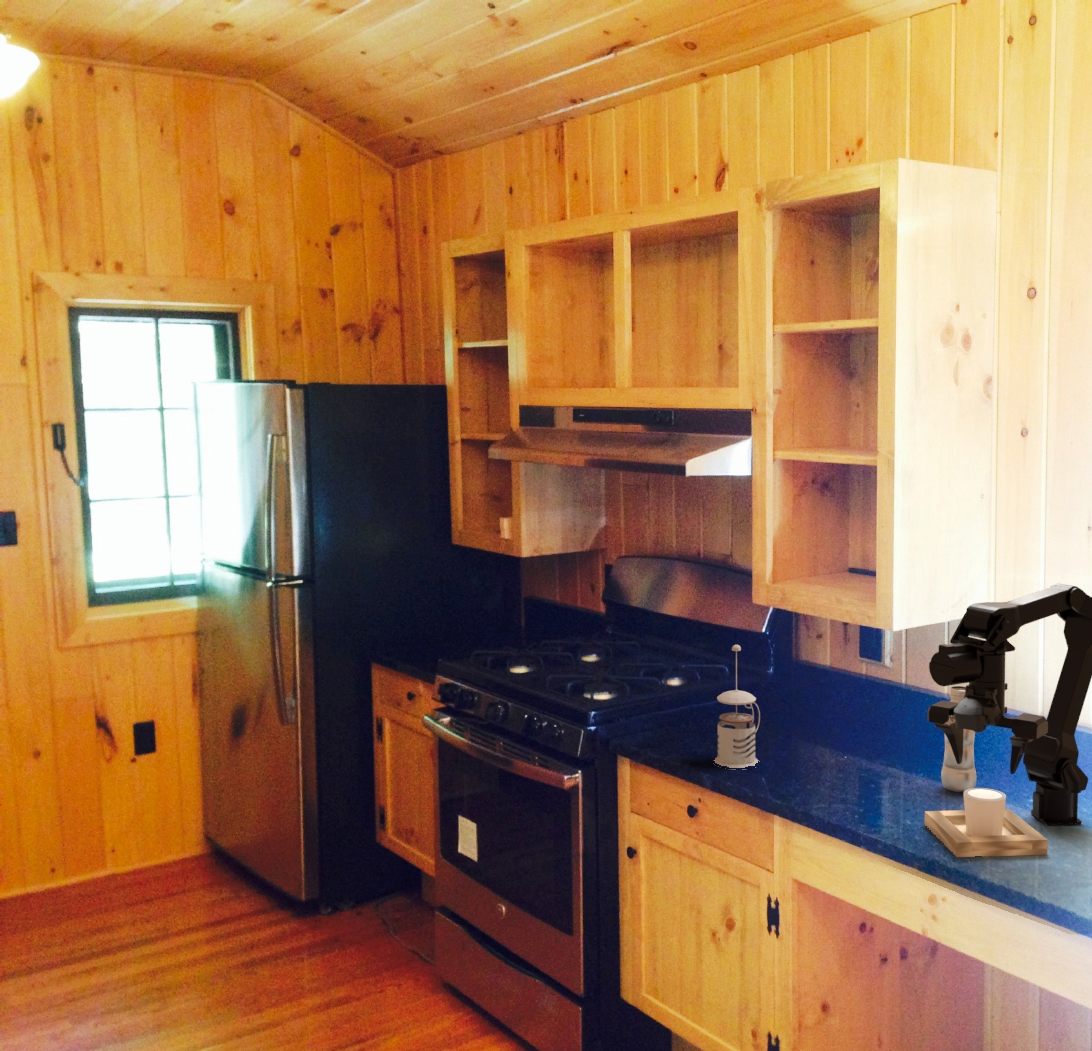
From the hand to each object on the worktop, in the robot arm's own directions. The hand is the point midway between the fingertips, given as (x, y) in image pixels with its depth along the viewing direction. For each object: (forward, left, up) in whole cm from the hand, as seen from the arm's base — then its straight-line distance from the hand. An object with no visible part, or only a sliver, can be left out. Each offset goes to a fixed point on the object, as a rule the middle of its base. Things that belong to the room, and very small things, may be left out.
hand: (985, 768), depth 201 cm
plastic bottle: (-5, -24, -12) cm, 27 cm away
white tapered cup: (+1, +2, -11) cm, 11 cm away
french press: (+33, -46, -12) cm, 58 cm away
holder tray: (+1, +2, -12) cm, 12 cm away
